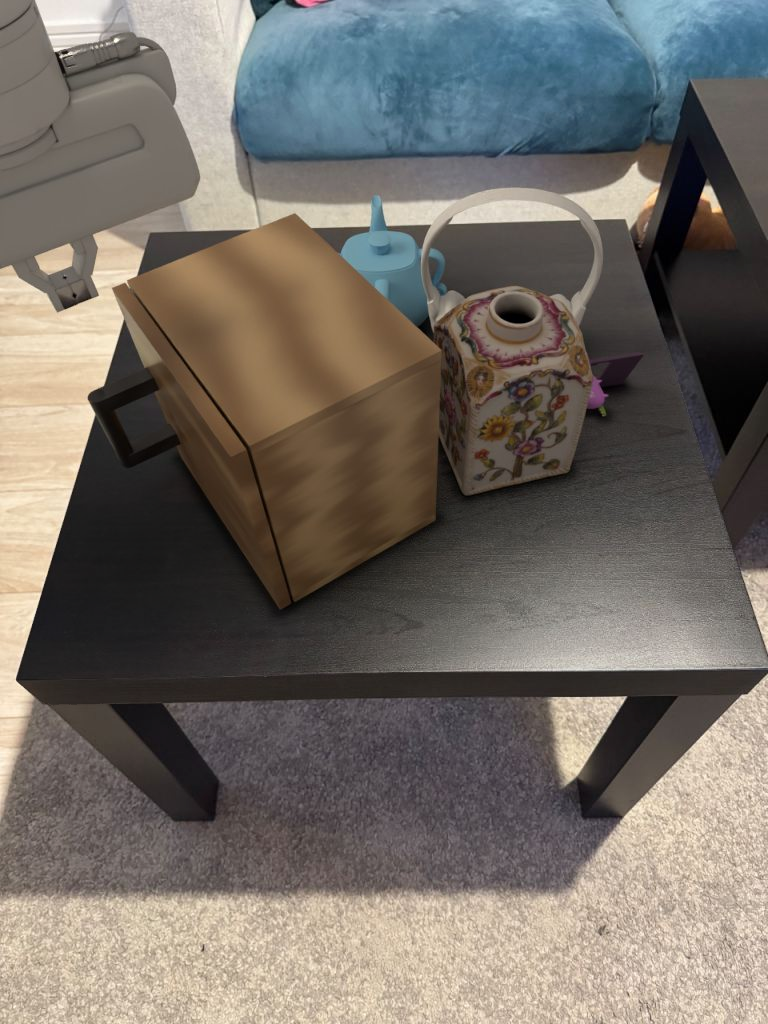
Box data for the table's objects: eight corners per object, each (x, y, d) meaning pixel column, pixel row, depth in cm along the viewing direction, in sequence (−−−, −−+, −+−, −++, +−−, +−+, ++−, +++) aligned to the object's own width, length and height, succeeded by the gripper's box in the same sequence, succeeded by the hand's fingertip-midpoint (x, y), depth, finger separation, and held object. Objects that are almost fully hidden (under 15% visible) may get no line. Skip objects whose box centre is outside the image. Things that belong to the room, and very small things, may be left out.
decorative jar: (428, 417, 80) (431, 278, 65) (529, 395, 81) (554, 254, 66) (462, 501, 73) (474, 368, 58) (572, 476, 74) (610, 340, 60)
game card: (641, 344, 75) (557, 358, 75) (655, 390, 74) (570, 404, 73) (619, 374, 82) (542, 387, 81) (632, 417, 80) (553, 430, 80)
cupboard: (294, 602, 67) (249, 445, 49) (193, 452, 78) (126, 280, 60) (435, 520, 72) (442, 350, 54) (321, 390, 83) (295, 212, 65)
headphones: (422, 329, 88) (424, 170, 72) (577, 335, 86) (614, 173, 70) (418, 371, 84) (418, 212, 68) (581, 378, 82) (621, 217, 66)
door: (222, 643, 65) (150, 496, 47) (129, 482, 76) (42, 315, 58) (291, 603, 67) (246, 449, 49) (191, 452, 78) (125, 282, 60)
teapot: (377, 370, 85) (377, 292, 76) (300, 308, 91) (291, 229, 81) (454, 320, 90) (462, 241, 80) (376, 265, 95) (376, 185, 86)
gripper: (137, 4, 42) (198, 222, 53) (-252, 114, 36) (-91, 333, 47) (182, 41, 38) (236, 265, 50) (-237, 170, 33) (-68, 391, 44)
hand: (75, 300), depth 48 cm, fingers closed
